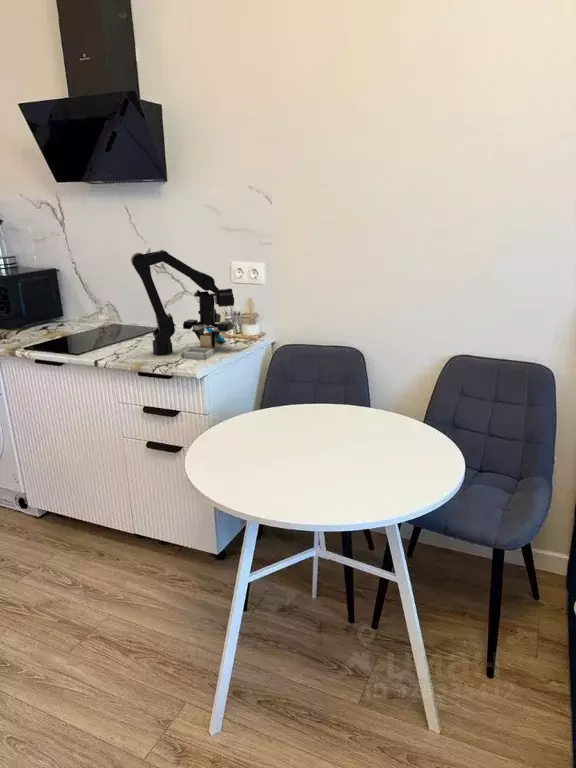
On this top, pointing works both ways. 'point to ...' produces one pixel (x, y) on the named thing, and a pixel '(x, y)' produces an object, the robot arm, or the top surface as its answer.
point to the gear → (218, 336)
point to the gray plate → (199, 353)
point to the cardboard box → (207, 341)
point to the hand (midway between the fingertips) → (208, 346)
